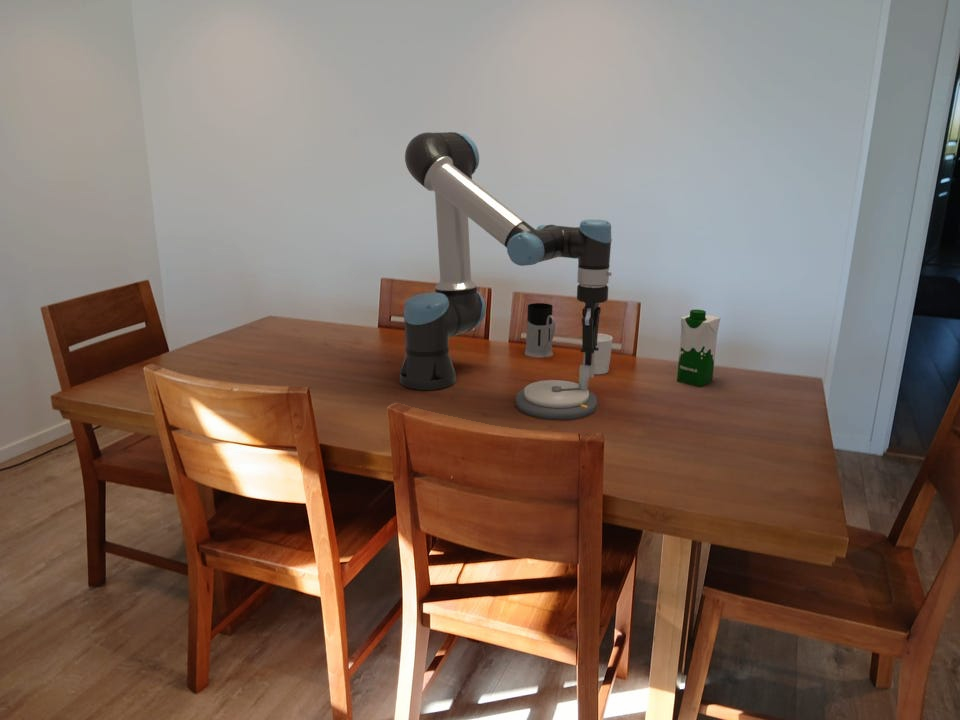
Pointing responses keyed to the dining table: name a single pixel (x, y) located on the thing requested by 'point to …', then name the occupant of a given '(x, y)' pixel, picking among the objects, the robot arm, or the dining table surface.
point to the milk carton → (697, 348)
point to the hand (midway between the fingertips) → (588, 376)
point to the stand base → (556, 412)
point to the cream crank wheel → (559, 391)
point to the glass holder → (539, 330)
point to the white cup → (603, 354)
